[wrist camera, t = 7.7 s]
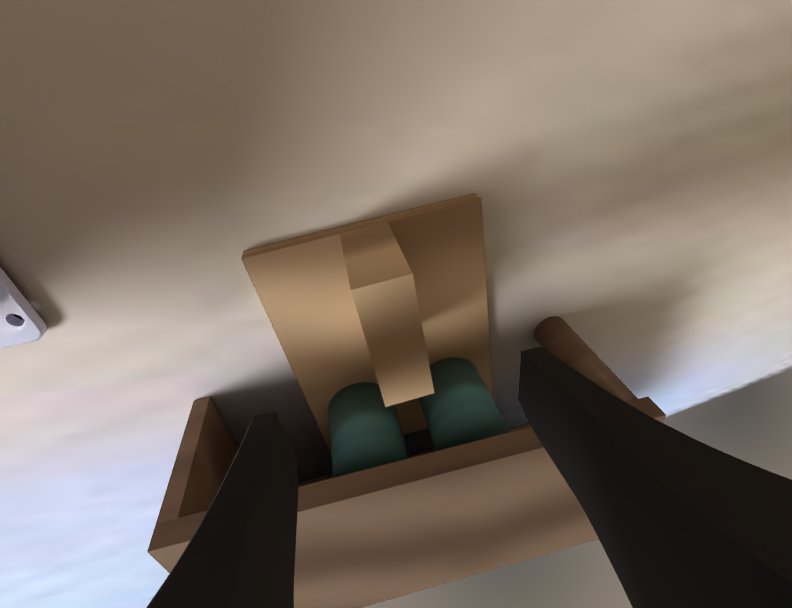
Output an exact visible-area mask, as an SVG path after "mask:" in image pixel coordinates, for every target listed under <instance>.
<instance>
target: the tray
mask: <svg viewBox="0 0 792 608" xmlns="http://www.w3.org/2000/svg"><path fill="white" fill-rule="evenodd" d="M241 259H242V261H243V264H244V266H245V268H246V270H247V272H248V274H249V277H250V279H251V281H252V283H253V285H254V287H255V290H256V292H257V294H258V296H259V298H260V300H261V303H262V305H263V307H264V309H265V311H266V313H267V316H268V318H269V320H270V322H271V324H272V326H273V329H274V331H275V333H276V335H277V337H278V339H279V342H280V344H281V346H282V348H283V350H284V352H285V355H286V357H287V359H288V361H289V363H290V365H291V368H292V370H293V372H294V374H295V376H296V378H297V381H298V383H299V385H300V387H301V389H302V391H303V394H304V396H305V398H306V400H307V402H308V404H309V407H310V409H311V411H312V413H313V415H314V417H315V420H316V422H317V424H318V426H319V428H320V430H321V433H322V435H323V437H324V439H325V441H326V443H327V446H328V448H329V450H330V452H331V454H332V467H333V478H335V477H339V476H343V475H347V474H350V473H354V472H358V471H362V470H366V469H370V468H374V467H378V466H381V465H385V464H389V463H393V462H397V461H401V460H405V459H409V458H408V454H407V450H406V446H405V442H404V439H403V435H405V434H408V433H412V432H415V431H419V430H422V429H426V428H429V431H430V434H431V437H432V440H433V443H434V446H435V449H436V451H439V450H443V449H447V448H451V447H455V446H459V445H463V444H467V443H470V442H474V441H478V440H482V439H486V438H490V437H494V436H498V435H501V434H505V433H509V432H510V429H509V427H508V426H507V424H506V422H505V420H504V418H503V416H502V414H501V413H500V411H499V409H498V407H497V405H496V403H495V402H494V400H493V392H492V375H491V358H490V341H489V324H488V307H487V290H486V273H485V256H484V239H483V222H482V205H481V197H479V196H478V195H477V194H476V193H473V194H469V195H465V196H461V197H457V198H453V199H449V200H445V201H441V202H437V203H433V204H429V205H425V206H421V207H417V208H413V209H409V210H406V211H402V212H398V213H394V214H390V215H386V216H382V217H378V218H374V219H370V220H366V221H362V222H358V223H354V224H350V225H346V226H342V227H338V228H334V229H330V230H326V231H322V232H318V233H314V234H310V235H306V236H302V237H298V238H294V239H290V240H286V241H282V242H278V243H274V244H270V245H266V246H262V247H258V248H254V249H250V250H247V251H243V255H242V258H241Z"/></svg>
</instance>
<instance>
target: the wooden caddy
mask: <svg viewBox="0 0 792 608" xmlns="http://www.w3.org/2000/svg"><path fill="white" fill-rule="evenodd" d="M535 338H536V340H537V341H538V342H539V343H540V345H541V346H542V347H543V348H544V349H545V350H547V351H548V352H550V353H551V354H553V355H554V356H556V357H557V358H558V359H560V360H561V361H563V362H564V363H566V364H567V365H569V366H570V367H572V368H573V369H575V370H576V371H578V372H579V373H580V374H582V375H583V376H585V377H586V378H588V379H589V380H591V381H593V382H594V383H596V384H597V385H599V386H600V387H602V388H603V389H605V390H607V391H608V392H610V393H611V394H613V395H614V396H616V397H618V398H619V399H621V400H623V401H624V402H626V403H628V404H629V405H631V406H633V407H635V408H636V409H638V410H640V411H642V412H643V413H645V414H647V415H649V416H650V417H652V418H654V419H656V420H658V421H660V422H662V423H663V422H664V419H665V416H666V414H665V413H664V412H663V411H662V410H661V409H660V408H659V407H658V406H657V405H656V404H655V403H654V402H653V401H652V400H651V399H650V398H649V397H645V398H641V399H638V398H637V397H636V396H635V395H634V394H633V393H632V392H631V391H630V390H629V389H628V388H627V387H626V386H625V385H624V384H623V383H622V382H621V380H620V379H619V378H618V377H617V376H616V375H615V374H614V373H613V372H612V371H611V370H610V369H609V368H608V367H607V366H606V365H605V364H604V363H603V362H602V360H601V359H600V358H599V357H598V356H597V355H596V354H595V353H594V352H593V351H592V350H591V349H590V348H589V347H588V346H587V345H586V344H585V343H584V342H583V340H582V339H581V338H580V337H579V336H578V335H577V334H576V333H575V332H574V331H573V330H572V329H571V328H570V327H569V326H568V325H567V324H566V323H565V321H564V320H563V319H561V318H559V317H550V318H548V319H545V320H544V321H542V322H541V323H540V324H539V325H538V327H537V328H536V330H535ZM238 448H239V447H238V446H237V444H236V442H235V440H234V439H233V437H232V435H231V433H230V432H229V430H228V428H227V427H226V425H225V423H224V421H223V420H222V418H221V416H220V414H219V413H218V411H217V409H216V407H215V406H214V404H213V402H212V401H211V399H210V397H208V398H204V399H200V400H196V401H194V402H193V405H192V409H191V412H190V415H189V418H188V422H187V425H186V428H185V431H184V435H183V438H182V441H181V444H180V448H179V451H178V454H177V457H176V461H175V464H174V467H173V470H172V474H171V477H170V480H169V483H168V487H167V490H166V493H165V496H164V500H163V503H162V506H161V509H160V513H159V516H158V519H157V522H156V526H155V529H154V532H153V535H152V539H151V542H150V545H149V548H148V553H149V554H150V555H151V556H152V557H153V558H154V559H155V560H156V561H157V562H158V563H160V564H161V565H162V566H163V567H164V568H165V569H166V570H167V571H168V572H169V573H170V572H171V571H172V569H173V568H174V566H175V565H176V563H177V561H178V560H179V558H180V557H181V555H182V553H183V552H184V550H185V549H186V547H187V545H188V544H189V542H190V540H191V539H192V537H193V535H194V534H195V532H196V530H197V528H198V526H199V525H200V523H201V521H202V519H203V517H204V516H205V514H206V512H207V510H208V508H209V507H210V505H211V503H212V501H213V499H214V497H215V496H216V494H217V492H218V490H219V488H220V486H221V484H222V482H223V480H224V478H225V476H226V474H227V472H228V470H229V468H230V466H231V463H232V461H233V459H234V457H235V455H236V453H237V451H238ZM408 458H409V459H405V460H401V461H397V462H393V463H389V464H385V465H381V466H378V467H374V468H370V469H366V470H362V471H358V472H354V473H350V474H347V475H343V476H339V477H335V478H333V474H332V475H328V476H324V477H320V478H317V479H313V480H309V481H305V482H301V483H298V511H297V531H296V550H295V570H294V608H362V607H365V606H369V605H372V604H376V603H379V602H382V601H386V600H389V599H393V598H396V597H400V596H403V595H407V594H410V593H414V592H417V591H420V590H424V589H428V588H431V587H435V586H438V585H441V584H445V583H448V582H452V581H455V580H459V579H462V578H466V577H469V576H473V575H476V574H480V573H483V572H486V571H490V570H493V569H497V568H500V567H504V566H507V565H511V564H514V563H517V562H521V561H525V560H528V559H531V558H535V557H538V556H542V555H545V554H549V553H552V552H556V551H559V550H563V549H566V548H569V547H573V546H576V545H580V544H583V543H587V542H590V541H594V540H597V539H599V538H598V536H597V534H596V532H595V530H594V529H593V527H592V525H591V523H590V521H589V519H588V517H587V515H586V513H585V512H584V510H583V508H582V507H581V505H580V503H579V501H578V500H577V498H576V497H575V495H574V493H573V492H572V490H571V489H570V487H569V486H568V484H567V483H566V481H565V479H564V478H563V476H562V475H561V473H560V472H559V470H558V469H557V467H556V465H555V464H554V462H553V461H552V459H551V458H550V456H549V455H548V453H547V451H546V450H545V448H544V447H543V445H542V444H541V442H540V440H539V439H538V437H537V436H536V434H535V432H534V431H533V429H532V427H531V425H530V424H526V425H522V426H518V427H514V428H511V429H510V432H509V433H505V434H501V435H498V436H494V437H490V438H486V439H482V440H478V441H474V442H470V443H467V444H463V445H459V446H455V447H451V448H447V449H443V450H439V451H436V449H435V448H433V449H429V450H425V451H421V452H417V453H414V454H410V455H408Z"/></svg>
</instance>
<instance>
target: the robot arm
mask: <svg viewBox="0 0 792 608" xmlns="http://www.w3.org/2000/svg"><path fill="white" fill-rule="evenodd" d="M13 314H16V315H19V316H21V317H22V318H23V319H24V320H21V319H18V318H16V317H15V316H14V315H13ZM46 330H47V326H46V324H45V322H44V321H43V320H42V319H41V317H40V316H39V315H38V314H37V312H36V311H35V310H34V309H33V307H32V306H31V305H30V304H29V302H28V301H27V300H26V299H25V297H24V296H23V295H22V294H21V292H20V291H19V290H18V289H17V287H16V286H15V285H14V284H13V282H12V281H11V280H10V279H9V277H8V276H7V275H6V274H5V272H4V271H3V270H2V269H1V267H0V348H5V347H10V346H14V345H19V344H24V343H28V342H33V341H36V340H39V339H40V338H41V337H42V336H43V334H44V333H45V332H46ZM518 400H519V402H520V404H521V406H522V408H523V410H524V413H525V415H526V417H527V419H528V421H529V423H530V425H531V427H532V429H533V431H534V432H535V434H536V436H537V437H538V439H539V440H540V442H541V444H542V445H543V447H544V448H545V450H546V451H547V453H548V455H549V456H550V458H551V459H552V461H553V462H554V464H555V465H556V467H557V469H558V470H559V472H560V473H561V475H562V476H563V478H564V479H565V481H566V483H567V484H568V486H569V487H570V489H571V490H572V492H573V493H574V495H575V497H576V498H577V500H578V501H579V503H580V505H581V507H582V508H583V510H584V512H585V513H586V515H587V517H588V519H589V521H590V523H591V525H592V527H593V529H594V530H595V532H596V534H597V536H598V538H599V540H600V542H601V544H602V545H603V548H604V550H605V551H606V554H607V556H608V558H609V560H610V562H611V564H612V565H613V568H614V570H615V572H616V574H617V575H618V578H619V580H620V582H621V584H622V586H623V588H624V590H625V592H626V594H627V597H628V599H629V601H630V603H631V605H632V607H633V608H792V480H791V479H788V478H785V477H783V476H780V475H777V474H774V473H772V472H769V471H767V470H764V469H762V468H759V467H757V466H754V465H752V464H749V463H747V462H745V461H742V460H740V459H738V458H735V457H733V456H731V455H728V454H726V453H724V452H722V451H719V450H717V449H714V448H712V447H710V446H708V445H706V444H704V443H702V442H699V441H697V440H695V439H693V438H691V437H689V436H687V435H685V434H683V433H681V432H679V431H677V430H675V429H673V428H671V427H669V426H667V425H665V424H663V423H662V422H660V421H658V420H656V419H654V418H652V417H650V416H649V415H647V414H645V413H643V412H642V411H640V410H638V409H636V408H635V407H633V406H631V405H629V404H628V403H626V402H624V401H623V400H621V399H619V398H618V397H616V396H614V395H613V394H611V393H610V392H608V391H607V390H605V389H603V388H602V387H600V386H599V385H597V384H596V383H594V382H593V381H591V380H589V379H588V378H586V377H585V376H583V375H582V374H580V373H579V372H578V371H576V370H575V369H573V368H572V367H570V366H569V365H567V364H566V363H564V362H563V361H561V360H560V359H558V358H557V357H556V356H554V355H553V354H551V353H550V352H548V351H547V350H545V349H544V348H542V347H537V348H533V349H529V350H525V351H521V364H520V380H519V396H518ZM297 511H298V478H297V464H296V455H295V453H294V451H293V449H292V446H291V444H290V442H289V440H288V438H287V435H286V433H285V431H284V429H283V427H282V424H281V422H280V420H279V418H278V416H277V414H276V411H275V412H271V413H267V414H263V415H259V416H255V417H253V418H252V420H251V421H250V424H249V426H248V428H247V431H246V433H245V435H244V437H243V440H242V442H241V444H240V446H239V448H238V451H237V453H236V455H235V457H234V459H233V461H232V463H231V466H230V468H229V470H228V472H227V474H226V476H225V478H224V480H223V482H222V484H221V486H220V488H219V490H218V492H217V494H216V496H215V497H214V499H213V501H212V503H211V505H210V507H209V508H208V510H207V512H206V514H205V516H204V517H203V519H202V521H201V523H200V525H199V526H198V528H197V530H196V532H195V534H194V535H193V537H192V539H191V540H190V542H189V544H188V545H187V547H186V549H185V550H184V552H183V553H182V555H181V557H180V558H179V560H178V561H177V563H176V565H175V566H174V568H173V569H172V571H171V572H170V574H169V575H168V577H167V579H166V580H165V582H164V583H163V585H162V586H161V587H160V589H159V590H158V592H157V593H156V595H155V596H154V598H153V599H152V601H151V602H150V603H149V605H148V606H147V608H294V570H295V550H296V531H297Z"/></svg>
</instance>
